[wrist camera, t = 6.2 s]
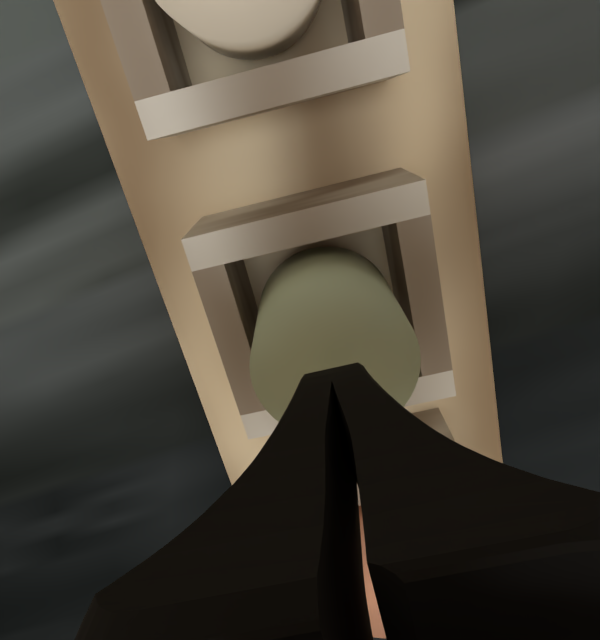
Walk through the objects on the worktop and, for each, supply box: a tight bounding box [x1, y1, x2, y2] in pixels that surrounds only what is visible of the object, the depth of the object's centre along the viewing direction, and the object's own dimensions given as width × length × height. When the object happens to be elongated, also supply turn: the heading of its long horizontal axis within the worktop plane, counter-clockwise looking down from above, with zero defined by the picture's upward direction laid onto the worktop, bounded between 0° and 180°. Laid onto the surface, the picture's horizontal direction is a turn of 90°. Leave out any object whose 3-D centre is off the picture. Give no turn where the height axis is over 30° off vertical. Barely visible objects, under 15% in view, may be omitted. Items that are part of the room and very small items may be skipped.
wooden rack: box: [53, 0, 503, 506], centre depth 17 cm, size 12×28×4 cm, turn 14°
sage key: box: [249, 246, 421, 422], centre depth 15 cm, size 4×4×4 cm
